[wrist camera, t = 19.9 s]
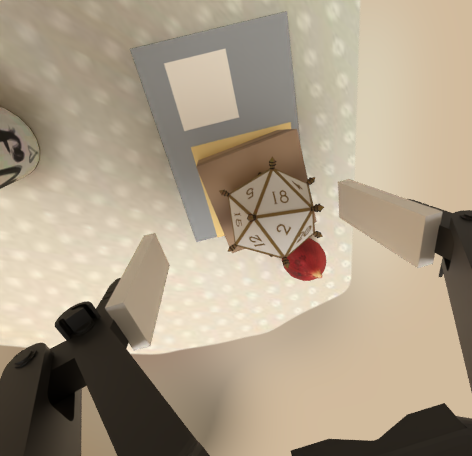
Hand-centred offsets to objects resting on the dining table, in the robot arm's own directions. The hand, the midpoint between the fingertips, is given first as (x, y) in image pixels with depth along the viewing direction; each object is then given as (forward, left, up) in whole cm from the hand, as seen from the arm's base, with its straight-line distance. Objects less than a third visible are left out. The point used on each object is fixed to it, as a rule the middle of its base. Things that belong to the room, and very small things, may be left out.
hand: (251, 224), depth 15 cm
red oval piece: (+12, +7, -15) cm, 21 cm away
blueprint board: (-4, +1, -15) cm, 16 cm away
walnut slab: (+1, +2, -13) cm, 14 cm away
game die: (+1, +2, -8) cm, 8 cm away
